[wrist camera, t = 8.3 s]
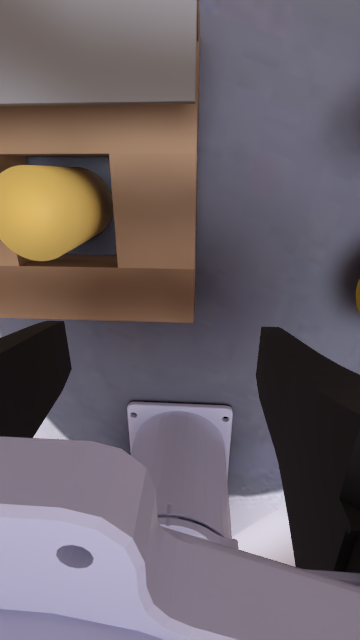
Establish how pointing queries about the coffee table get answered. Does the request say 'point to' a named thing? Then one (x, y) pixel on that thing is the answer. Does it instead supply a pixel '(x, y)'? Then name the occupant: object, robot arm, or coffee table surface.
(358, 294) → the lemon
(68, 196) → the peg
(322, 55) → the coffee table surface
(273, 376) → the robot arm
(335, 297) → the coffee table surface
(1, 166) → the porch socket
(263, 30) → the coffee table surface
